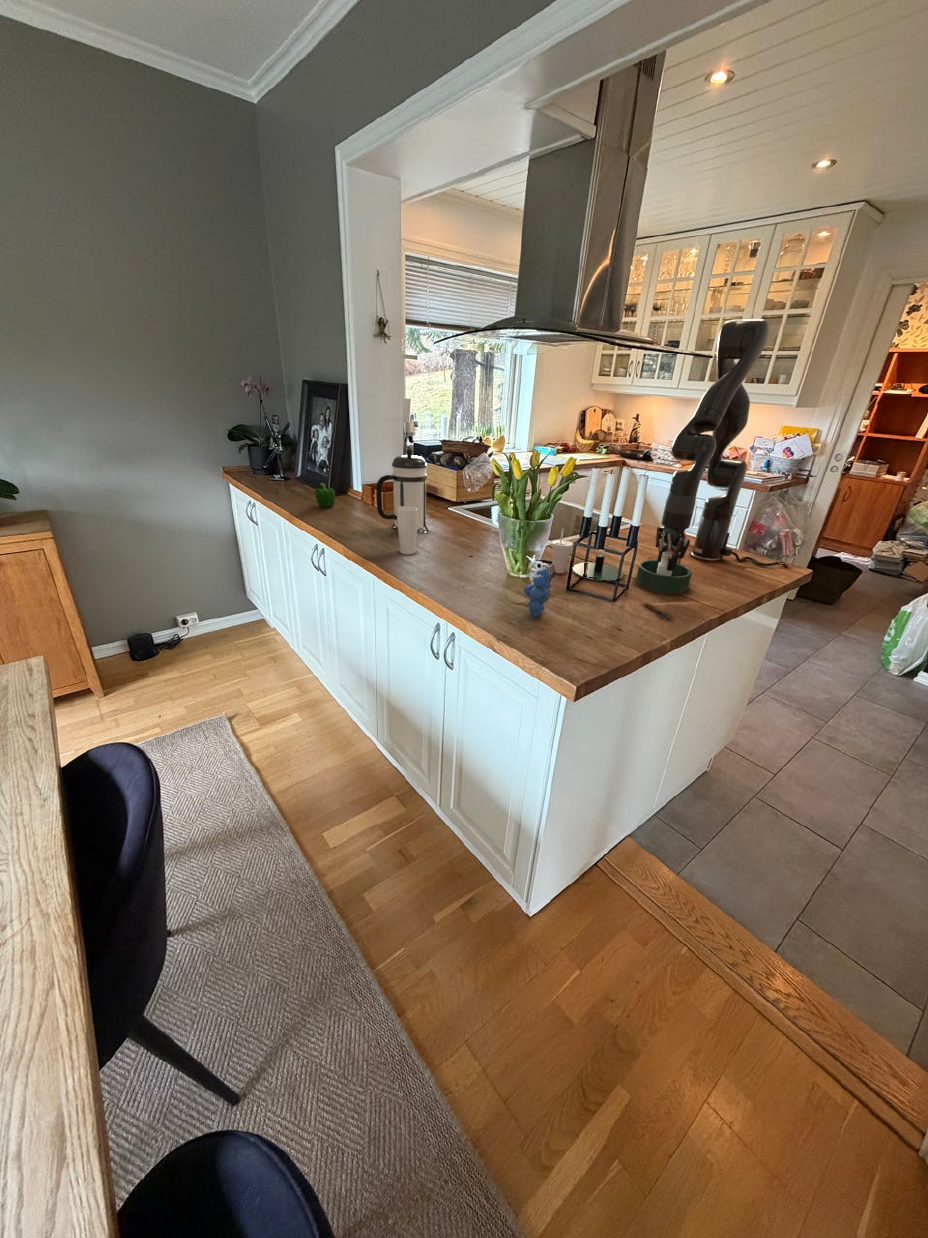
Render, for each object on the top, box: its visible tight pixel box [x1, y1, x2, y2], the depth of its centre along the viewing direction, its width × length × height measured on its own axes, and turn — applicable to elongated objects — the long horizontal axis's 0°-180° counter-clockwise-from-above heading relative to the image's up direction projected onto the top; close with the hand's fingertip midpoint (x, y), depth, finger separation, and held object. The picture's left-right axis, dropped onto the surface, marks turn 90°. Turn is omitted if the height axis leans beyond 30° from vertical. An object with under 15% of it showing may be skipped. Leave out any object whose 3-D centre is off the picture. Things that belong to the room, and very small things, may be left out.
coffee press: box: [375, 448, 430, 534], centre depth 179 cm, size 17×16×30 cm
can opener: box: [644, 603, 671, 621], centre depth 127 cm, size 9×2×1 cm, turn 17°
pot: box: [635, 559, 693, 595], centre depth 144 cm, size 15×15×6 cm
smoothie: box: [551, 528, 574, 574], centre depth 148 cm, size 6×6×14 cm
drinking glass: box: [397, 506, 418, 556], centre depth 160 cm, size 7×7×15 cm
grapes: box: [523, 567, 552, 618], centre depth 122 cm, size 12×7×12 cm, turn 156°
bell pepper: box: [314, 482, 336, 509], centre depth 212 cm, size 8×8×10 cm
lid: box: [572, 553, 625, 583], centre depth 150 cm, size 16×16×6 cm
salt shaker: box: [656, 552, 672, 576], centre depth 143 cm, size 4×4×10 cm
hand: (665, 566), depth 142 cm, fingers closed on salt shaker, 5 cm apart
